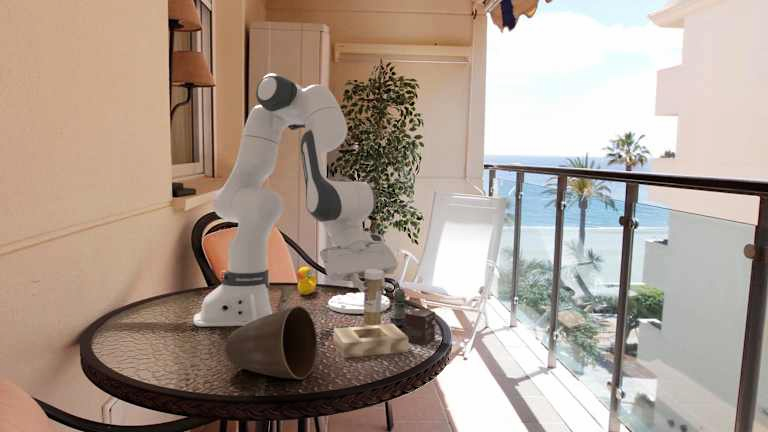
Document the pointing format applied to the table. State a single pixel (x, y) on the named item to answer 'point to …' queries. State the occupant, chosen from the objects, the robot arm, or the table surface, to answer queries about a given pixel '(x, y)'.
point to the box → (420, 326)
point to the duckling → (306, 281)
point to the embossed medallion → (353, 303)
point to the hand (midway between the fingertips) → (374, 289)
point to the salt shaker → (398, 310)
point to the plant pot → (276, 344)
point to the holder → (370, 340)
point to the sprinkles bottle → (373, 296)
